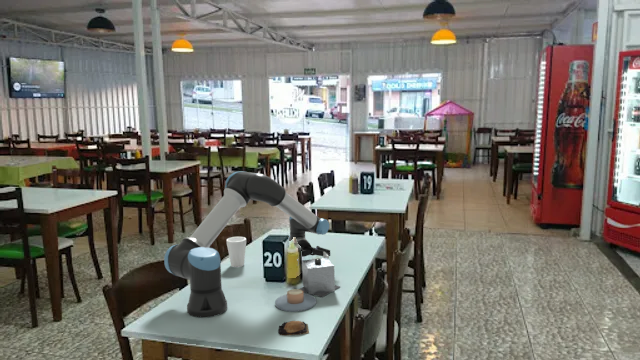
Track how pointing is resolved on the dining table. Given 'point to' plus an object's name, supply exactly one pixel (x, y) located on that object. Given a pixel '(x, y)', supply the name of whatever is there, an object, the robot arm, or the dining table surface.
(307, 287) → the food cover
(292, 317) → the dining table surface
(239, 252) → the foam cup
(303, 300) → the plate with peach cylinder
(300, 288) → the mat
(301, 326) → the bread roll
